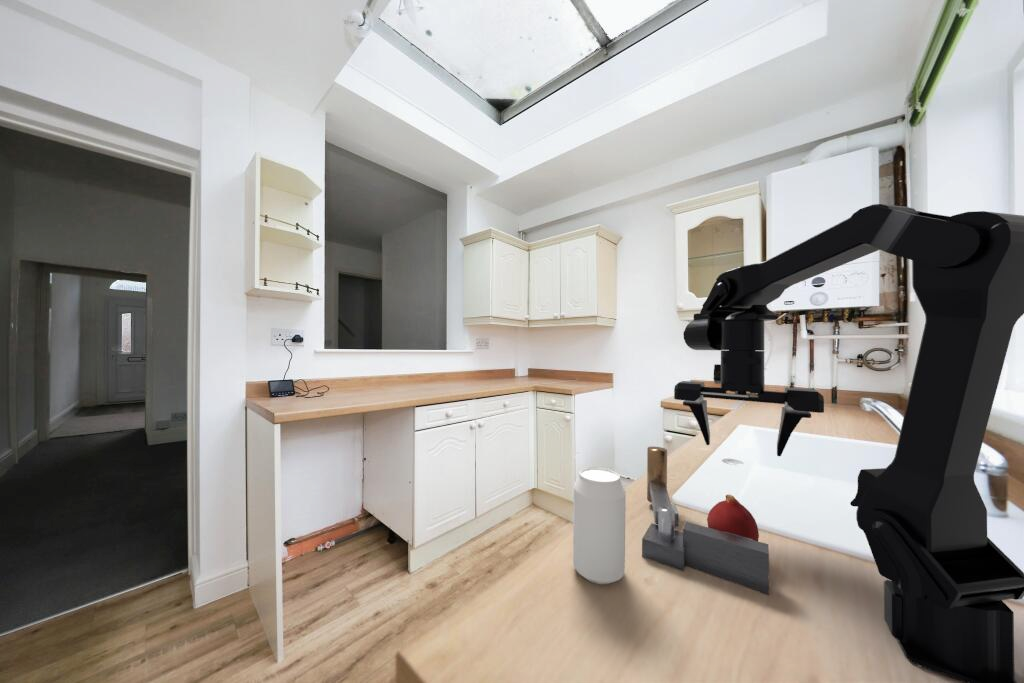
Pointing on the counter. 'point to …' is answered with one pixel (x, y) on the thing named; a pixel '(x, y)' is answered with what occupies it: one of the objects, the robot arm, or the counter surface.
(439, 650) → the counter surface
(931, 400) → the robot arm
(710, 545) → the base
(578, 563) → the beverage can
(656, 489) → the lever
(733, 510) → the onion
